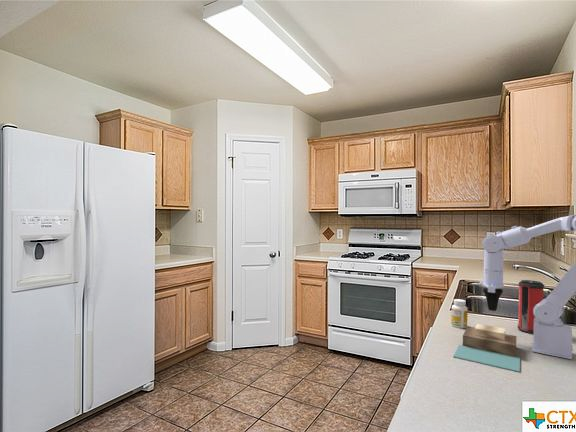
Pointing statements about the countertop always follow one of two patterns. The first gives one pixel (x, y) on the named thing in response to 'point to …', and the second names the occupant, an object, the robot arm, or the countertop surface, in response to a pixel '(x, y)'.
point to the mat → (488, 358)
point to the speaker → (528, 303)
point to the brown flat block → (490, 343)
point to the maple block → (490, 331)
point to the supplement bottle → (459, 314)
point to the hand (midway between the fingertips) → (492, 310)
